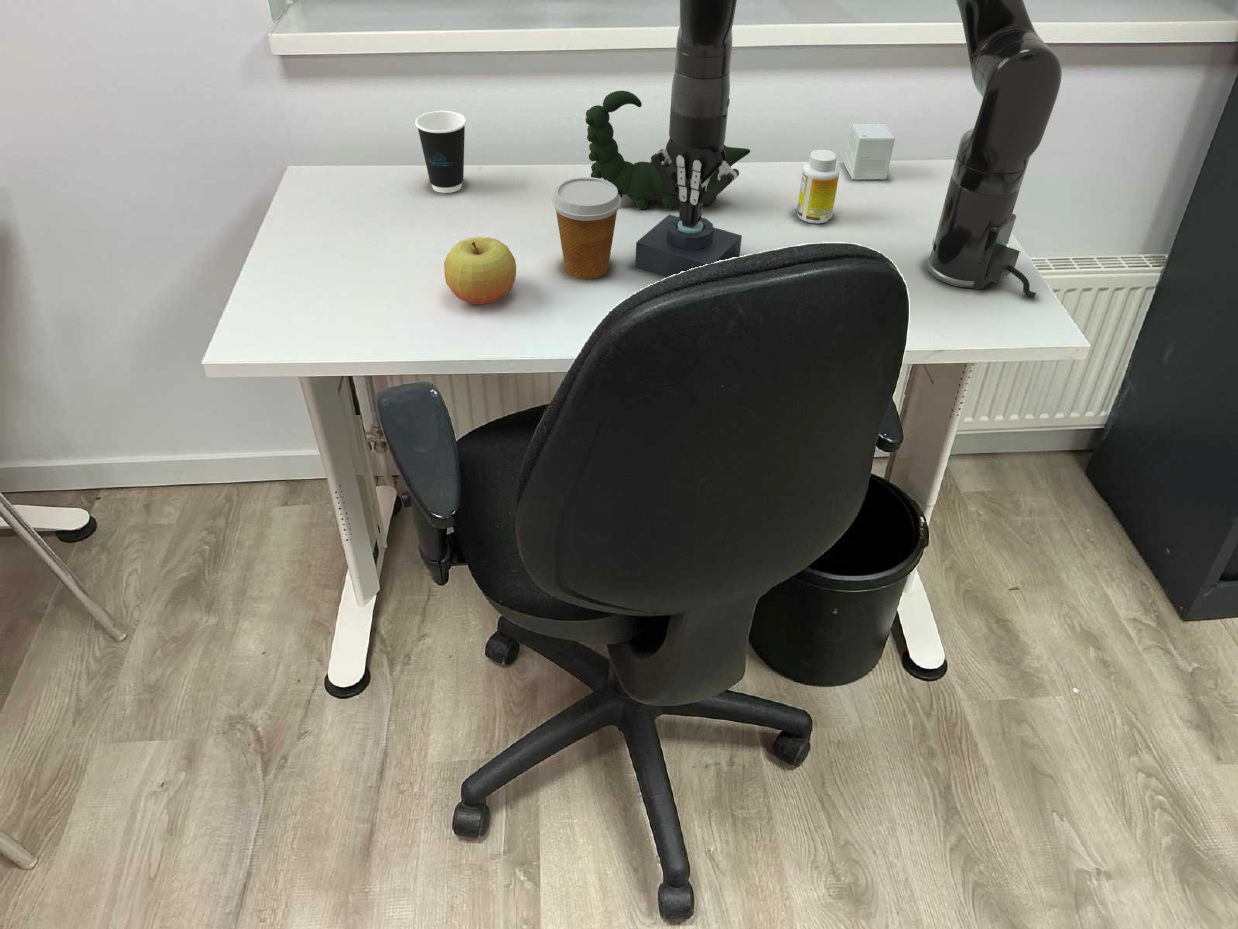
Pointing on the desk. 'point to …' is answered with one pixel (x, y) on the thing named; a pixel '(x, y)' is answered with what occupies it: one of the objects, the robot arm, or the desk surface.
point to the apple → (480, 270)
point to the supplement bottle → (818, 187)
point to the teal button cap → (695, 229)
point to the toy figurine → (628, 177)
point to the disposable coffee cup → (586, 224)
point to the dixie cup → (443, 148)
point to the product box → (869, 151)
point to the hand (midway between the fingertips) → (690, 224)
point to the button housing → (684, 247)
